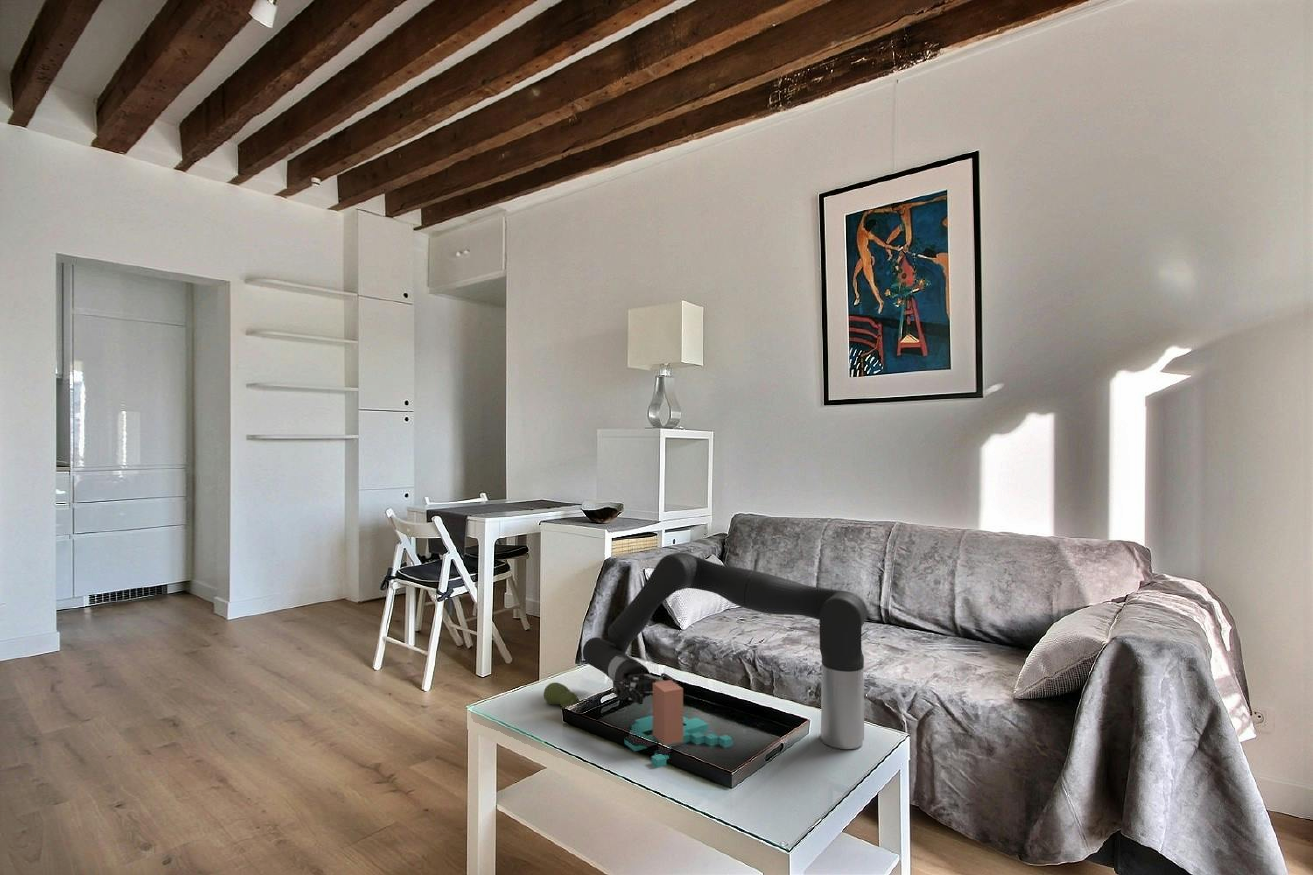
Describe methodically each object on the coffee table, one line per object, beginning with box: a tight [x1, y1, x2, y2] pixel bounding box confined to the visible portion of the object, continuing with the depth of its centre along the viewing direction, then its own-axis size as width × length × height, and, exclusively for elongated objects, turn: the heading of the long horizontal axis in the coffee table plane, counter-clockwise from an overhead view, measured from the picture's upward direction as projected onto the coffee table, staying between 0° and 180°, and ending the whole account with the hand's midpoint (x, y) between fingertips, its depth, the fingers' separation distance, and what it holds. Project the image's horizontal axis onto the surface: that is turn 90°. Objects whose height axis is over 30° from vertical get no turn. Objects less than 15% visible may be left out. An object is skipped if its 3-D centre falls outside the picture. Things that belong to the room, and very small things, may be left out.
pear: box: [543, 682, 580, 710], centre depth 177 cm, size 6×5×10 cm
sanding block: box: [652, 680, 684, 747], centre depth 154 cm, size 4×6×12 cm
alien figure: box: [624, 714, 734, 769], centre depth 158 cm, size 20×2×20 cm
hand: (658, 697), depth 155 cm, fingers open, 8 cm apart
